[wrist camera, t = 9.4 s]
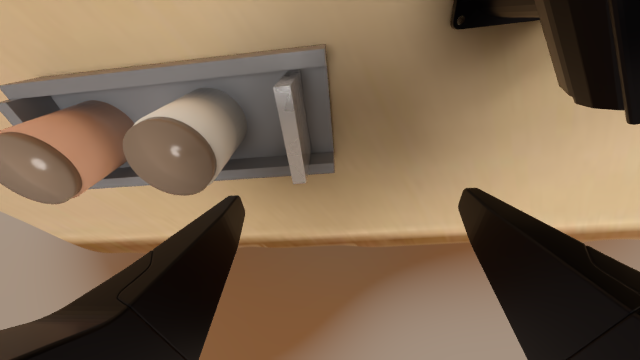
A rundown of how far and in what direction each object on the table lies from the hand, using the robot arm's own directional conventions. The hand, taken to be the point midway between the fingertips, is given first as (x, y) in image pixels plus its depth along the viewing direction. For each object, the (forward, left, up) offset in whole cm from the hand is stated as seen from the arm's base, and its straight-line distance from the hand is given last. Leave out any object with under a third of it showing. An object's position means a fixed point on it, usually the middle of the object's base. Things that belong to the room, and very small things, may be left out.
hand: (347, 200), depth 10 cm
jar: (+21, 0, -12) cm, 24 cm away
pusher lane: (+13, 0, -13) cm, 18 cm away
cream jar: (+11, 0, -12) cm, 16 cm away
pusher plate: (+3, 0, -12) cm, 12 cm away
